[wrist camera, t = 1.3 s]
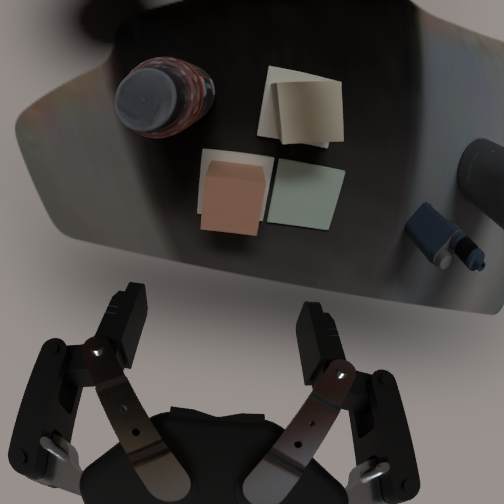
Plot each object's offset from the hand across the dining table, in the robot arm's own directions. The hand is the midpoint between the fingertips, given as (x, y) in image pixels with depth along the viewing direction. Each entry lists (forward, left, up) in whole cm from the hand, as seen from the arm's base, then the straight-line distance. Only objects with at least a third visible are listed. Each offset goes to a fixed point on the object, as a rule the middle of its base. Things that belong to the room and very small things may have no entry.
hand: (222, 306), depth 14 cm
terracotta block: (0, 0, -17) cm, 17 cm away
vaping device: (-23, 0, -17) cm, 29 cm away
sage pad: (-8, 0, -17) cm, 19 cm away
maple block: (-5, -9, -17) cm, 20 cm away
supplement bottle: (+6, -9, -17) cm, 20 cm away
